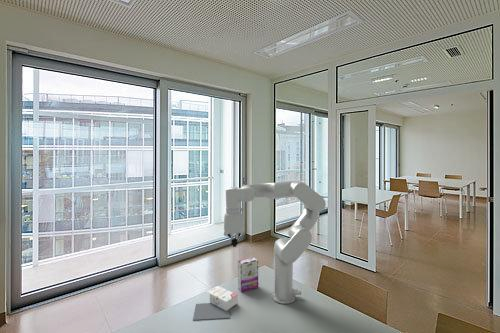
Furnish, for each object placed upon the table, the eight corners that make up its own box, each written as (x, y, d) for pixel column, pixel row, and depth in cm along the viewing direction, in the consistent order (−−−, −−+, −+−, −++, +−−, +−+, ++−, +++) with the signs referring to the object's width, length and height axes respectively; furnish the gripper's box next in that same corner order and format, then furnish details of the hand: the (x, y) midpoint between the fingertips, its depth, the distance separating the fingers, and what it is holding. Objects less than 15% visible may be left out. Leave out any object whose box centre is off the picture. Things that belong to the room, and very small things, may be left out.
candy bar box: (254, 284, 152) (254, 256, 151) (258, 287, 147) (258, 259, 147) (237, 288, 146) (237, 260, 146) (241, 292, 142) (241, 263, 142)
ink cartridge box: (237, 303, 130) (217, 293, 140) (237, 294, 130) (217, 284, 139) (226, 311, 124) (205, 300, 133) (226, 301, 123) (205, 291, 133)
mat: (229, 302, 132) (229, 301, 132) (230, 318, 119) (230, 317, 119) (195, 304, 130) (195, 303, 130) (192, 320, 117) (192, 319, 117)
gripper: (246, 208, 136) (247, 242, 137) (218, 210, 134) (219, 245, 135) (248, 211, 129) (249, 247, 130) (219, 213, 127) (220, 250, 127)
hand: (234, 246), depth 132 cm, fingers closed
